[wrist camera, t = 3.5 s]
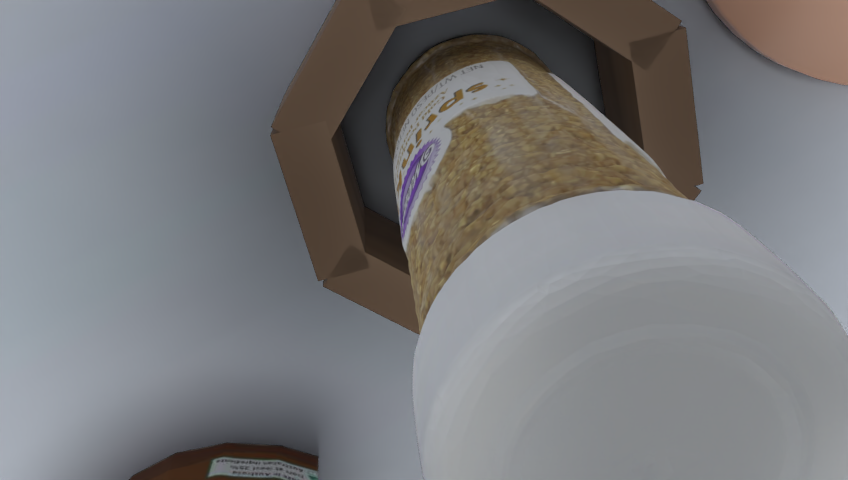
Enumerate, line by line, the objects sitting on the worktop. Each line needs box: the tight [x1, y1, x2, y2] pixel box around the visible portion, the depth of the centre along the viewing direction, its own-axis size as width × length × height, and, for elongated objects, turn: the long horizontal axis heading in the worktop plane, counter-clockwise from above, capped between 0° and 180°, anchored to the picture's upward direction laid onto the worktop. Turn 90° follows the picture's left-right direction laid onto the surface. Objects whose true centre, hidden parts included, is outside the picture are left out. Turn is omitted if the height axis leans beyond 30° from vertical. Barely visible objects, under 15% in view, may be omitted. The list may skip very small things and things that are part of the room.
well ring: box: [270, 0, 703, 335], centre depth 19 cm, size 9×9×3 cm
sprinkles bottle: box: [386, 35, 848, 480], centre depth 14 cm, size 5×5×13 cm
